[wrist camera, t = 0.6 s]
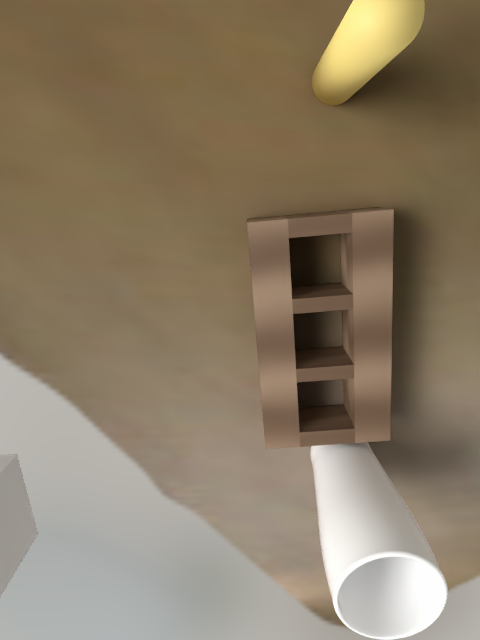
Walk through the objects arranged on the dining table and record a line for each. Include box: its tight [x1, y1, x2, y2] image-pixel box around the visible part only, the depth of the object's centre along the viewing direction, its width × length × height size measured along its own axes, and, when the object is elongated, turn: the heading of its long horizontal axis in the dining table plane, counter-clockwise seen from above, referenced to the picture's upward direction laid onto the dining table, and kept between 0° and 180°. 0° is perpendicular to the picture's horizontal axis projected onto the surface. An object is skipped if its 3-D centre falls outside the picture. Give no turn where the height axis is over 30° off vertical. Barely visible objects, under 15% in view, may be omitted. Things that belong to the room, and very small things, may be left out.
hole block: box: [247, 207, 394, 449], centre depth 34 cm, size 18×10×4 cm, turn 5°
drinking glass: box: [311, 442, 448, 640], centre depth 32 cm, size 7×7×15 cm
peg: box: [312, 0, 425, 106], centre depth 25 cm, size 3×3×12 cm
